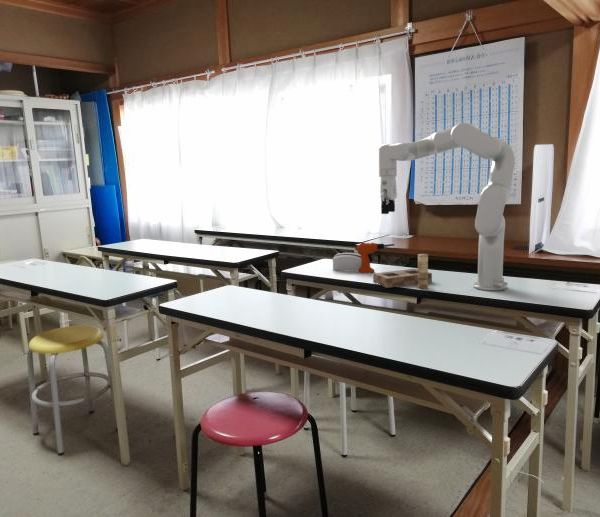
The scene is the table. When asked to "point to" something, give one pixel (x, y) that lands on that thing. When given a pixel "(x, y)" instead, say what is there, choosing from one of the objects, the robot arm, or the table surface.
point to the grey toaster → (347, 261)
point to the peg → (422, 271)
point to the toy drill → (368, 255)
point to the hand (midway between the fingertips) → (388, 212)
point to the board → (398, 278)
